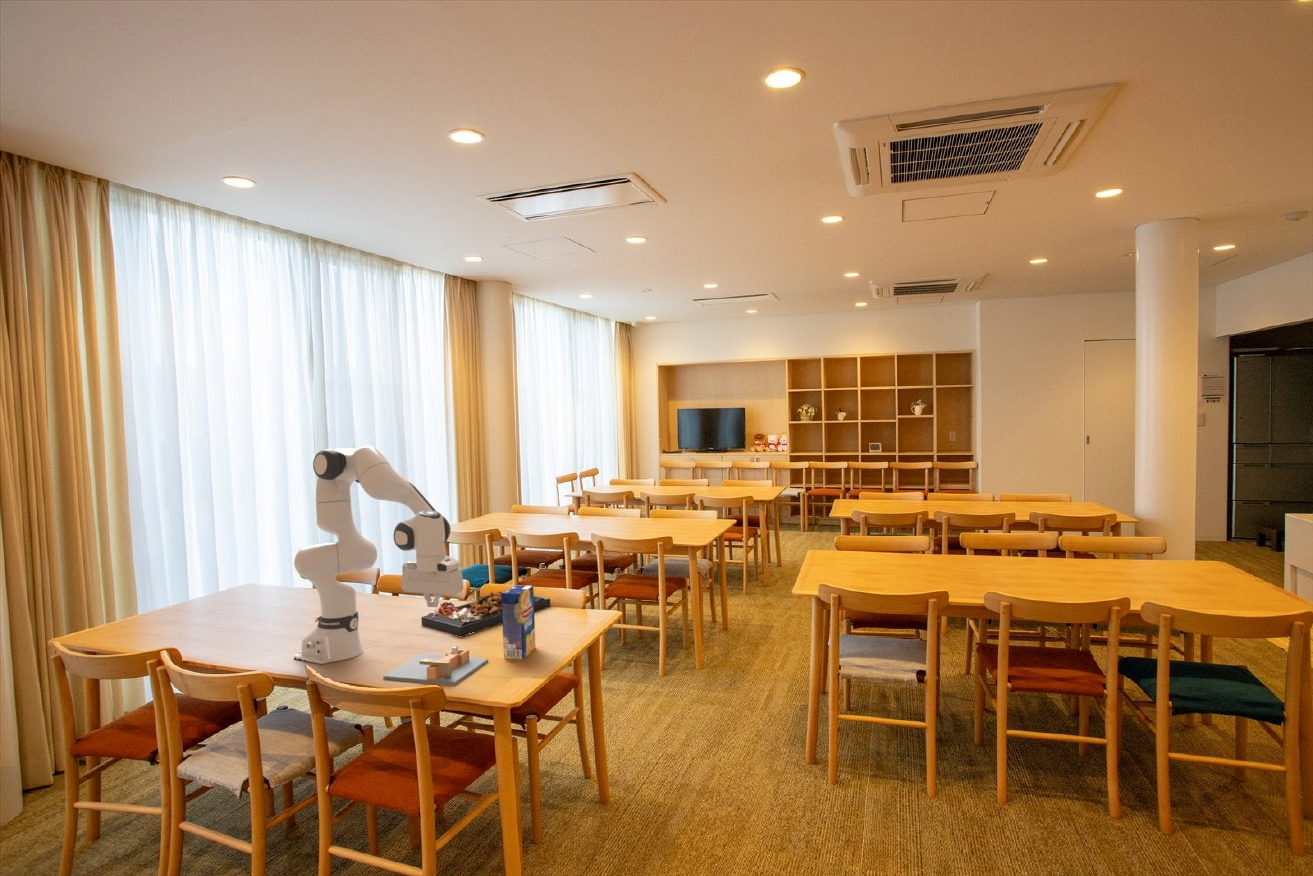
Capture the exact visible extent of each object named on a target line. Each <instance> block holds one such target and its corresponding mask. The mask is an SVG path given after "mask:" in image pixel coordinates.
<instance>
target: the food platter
mask: <svg viewBox="0 0 1313 876" xmlns="http://www.w3.org/2000/svg"><path fill="white" fill-rule="evenodd" d="M505 591H506V590H504V591H503V592H505ZM503 592H502V591H501V590H500V591H497V592H496V593H494V592H490V593H488V594H483V595H480V596H479V597H478V599H477V600H476V601H473V602H470V603H469V602H468V603H466V604H462V605H459V606H455V603H452V602H451V601H450V602H447V601H444V602H443V601H442V603H441V602H440V599H439V600H438V604H440V606H437V607H434V608H435V609H436V610H437V611H436V610H434V612H429V613H428V614H427V615H423V616H421V627H425V628H429V627H430V628H429V629H433V628H434V629H433V630H436V629H437V631H439V632H443V633H447V632H448V633H449V634H452V635H453V636H454V635H457V636H464V637H466V636H465V635H467V634H469V633H472V632H476V633H478V632H480V631H479V630H481V631H483V630H482V629H484V628H487V627H490V628H493V627H495V626H494V625H496V626H498V625H500V624H499V623H501V624H503V618H502V593H503ZM549 607H551V599H550V598H547V597H543V596H539V595H538V596H537V595H534V611H535V612H538V611H540V610H539V609H541V610H544V609H546V608H549ZM537 610H538V611H537ZM497 624H498V625H497ZM492 626H493V627H492ZM487 629H488V628H487ZM484 630H485V629H484ZM477 631H478V632H477ZM457 636H456V637H457ZM467 636H468V635H467Z"/></svg>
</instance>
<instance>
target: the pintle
mask: <svg viewBox="0 0 1313 876" xmlns="http://www.w3.org/2000/svg"><path fill="white" fill-rule="evenodd" d="M458 649H459V646H457V645H453V646H451V651H452V654H458Z"/></svg>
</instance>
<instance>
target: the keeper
mask: <svg viewBox="0 0 1313 876" xmlns="http://www.w3.org/2000/svg"><path fill="white" fill-rule="evenodd" d="M420 664H423V665H435V666H443V673H444V678H445V679H448V678H450V677H451V676H452V672H451V661H446V660H433V659H422V660H420Z"/></svg>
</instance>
